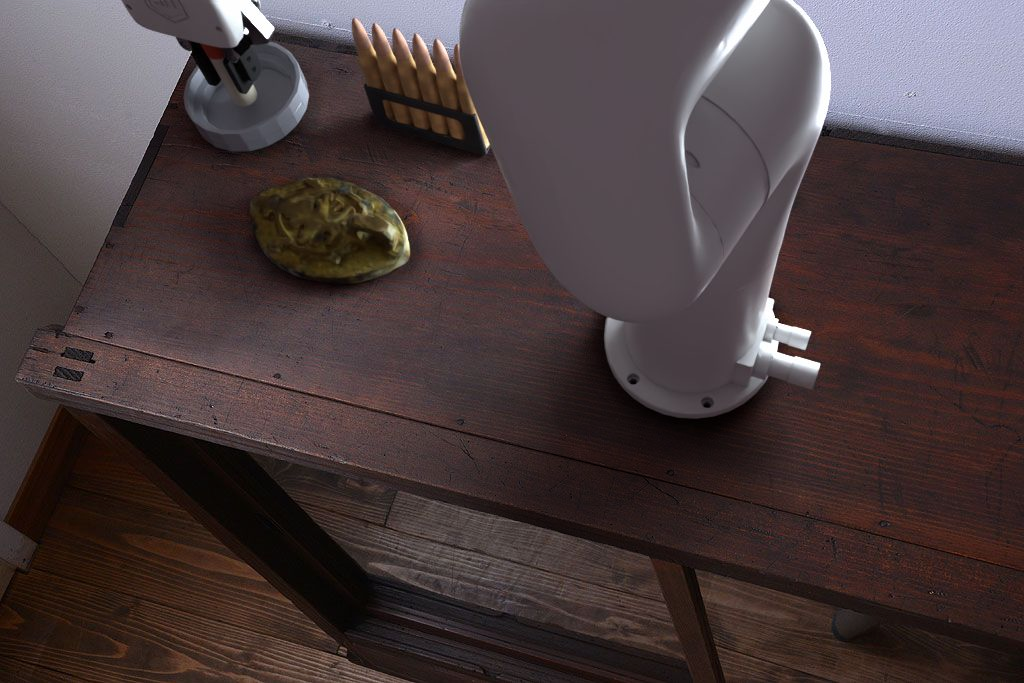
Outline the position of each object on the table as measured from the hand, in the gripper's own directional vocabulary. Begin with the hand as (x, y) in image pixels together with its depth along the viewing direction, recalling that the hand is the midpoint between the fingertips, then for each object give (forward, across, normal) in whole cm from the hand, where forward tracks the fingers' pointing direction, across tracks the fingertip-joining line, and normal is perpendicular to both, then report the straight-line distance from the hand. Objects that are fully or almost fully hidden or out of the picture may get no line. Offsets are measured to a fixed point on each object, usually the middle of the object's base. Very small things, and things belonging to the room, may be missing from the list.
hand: (235, 76), depth 84 cm
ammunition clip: (+4, +17, +2) cm, 18 cm away
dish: (+4, 0, 0) cm, 4 cm away
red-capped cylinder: (+3, 0, 0) cm, 3 cm away
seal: (+4, +13, -10) cm, 17 cm away
